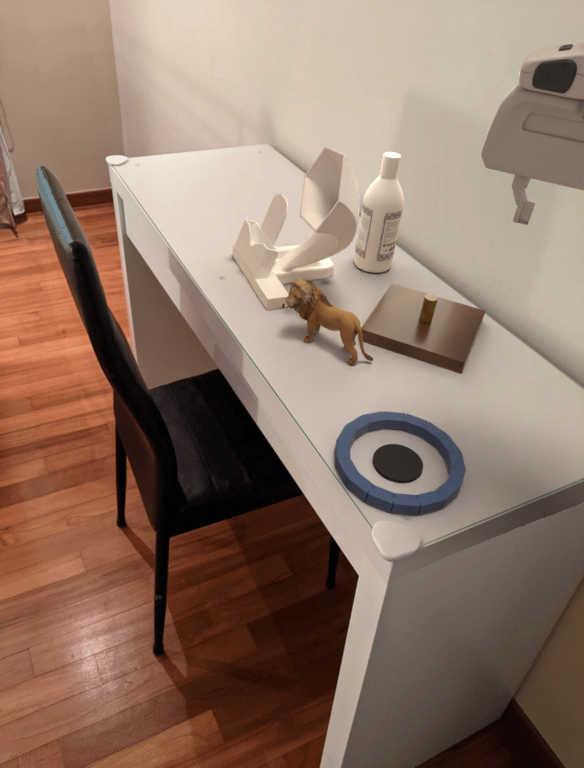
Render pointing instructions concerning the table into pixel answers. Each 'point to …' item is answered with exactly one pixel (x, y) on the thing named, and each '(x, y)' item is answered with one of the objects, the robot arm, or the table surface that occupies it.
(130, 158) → the table surface
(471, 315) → the platform
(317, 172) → the jewelry stand
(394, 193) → the bath foam
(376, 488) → the ring
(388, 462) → the mat
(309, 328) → the lion figurine
